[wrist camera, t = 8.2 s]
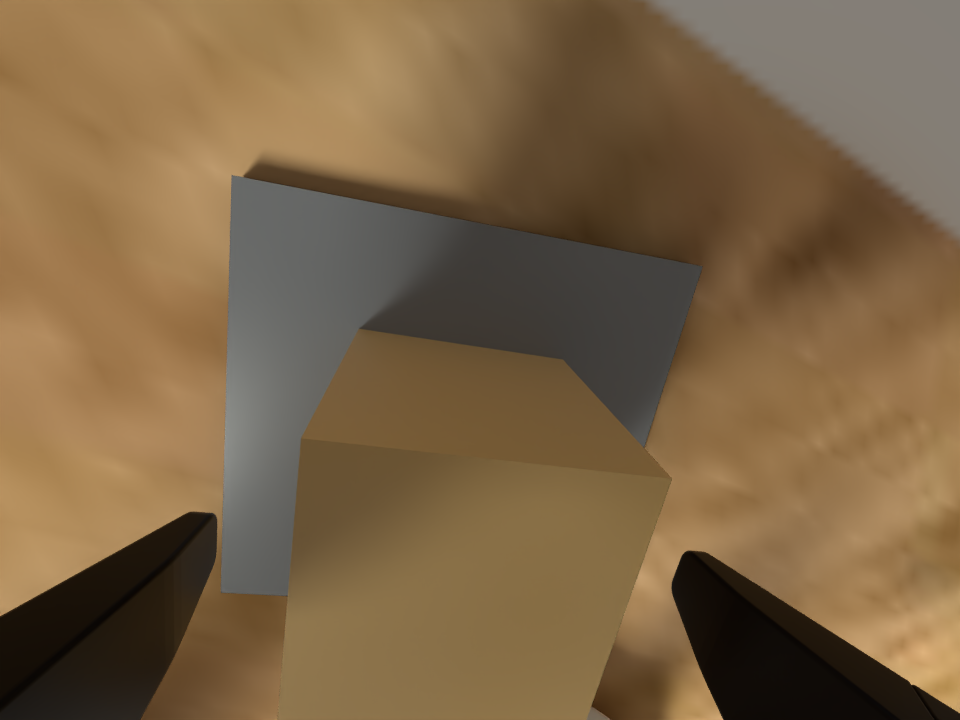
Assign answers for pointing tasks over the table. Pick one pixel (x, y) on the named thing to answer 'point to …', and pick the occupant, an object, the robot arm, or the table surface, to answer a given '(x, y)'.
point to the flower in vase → (596, 715)
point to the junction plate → (408, 329)
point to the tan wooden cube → (460, 537)
